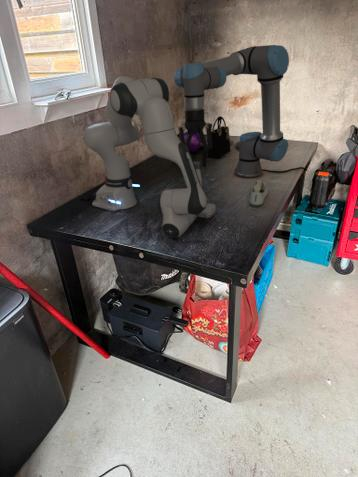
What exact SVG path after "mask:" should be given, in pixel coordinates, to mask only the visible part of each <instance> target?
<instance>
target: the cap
mask: <svg viewBox="0 0 358 477" xmlns="http://www.w3.org/2000/svg"><path fill="white" fill-rule="evenodd" d="M193 163H194V166H195V169H200V170H201V169H202V161H198V160H196V161H195V160H193Z"/></svg>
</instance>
